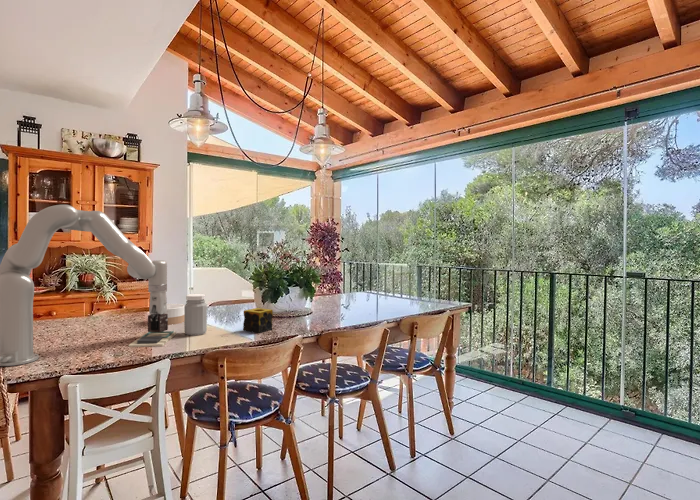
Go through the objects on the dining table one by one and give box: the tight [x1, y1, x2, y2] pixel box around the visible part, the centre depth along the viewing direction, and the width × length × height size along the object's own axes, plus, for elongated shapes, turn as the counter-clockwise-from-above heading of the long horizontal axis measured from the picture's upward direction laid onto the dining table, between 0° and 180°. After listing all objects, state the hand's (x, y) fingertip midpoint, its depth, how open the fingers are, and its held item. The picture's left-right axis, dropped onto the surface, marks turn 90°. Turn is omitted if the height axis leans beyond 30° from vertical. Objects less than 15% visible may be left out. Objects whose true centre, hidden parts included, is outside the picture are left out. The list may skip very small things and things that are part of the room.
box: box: [147, 313, 169, 333], centre depth 185 cm, size 6×6×7 cm
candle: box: [242, 307, 274, 334], centre depth 201 cm, size 10×10×10 cm
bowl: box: [148, 303, 186, 326], centre depth 218 cm, size 17×17×8 cm
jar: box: [183, 293, 208, 337], centre depth 192 cm, size 10×10×18 cm
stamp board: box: [128, 330, 177, 348], centre depth 179 cm, size 22×13×2 cm, turn 9°
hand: (157, 327), depth 185 cm, fingers closed on box, 7 cm apart
